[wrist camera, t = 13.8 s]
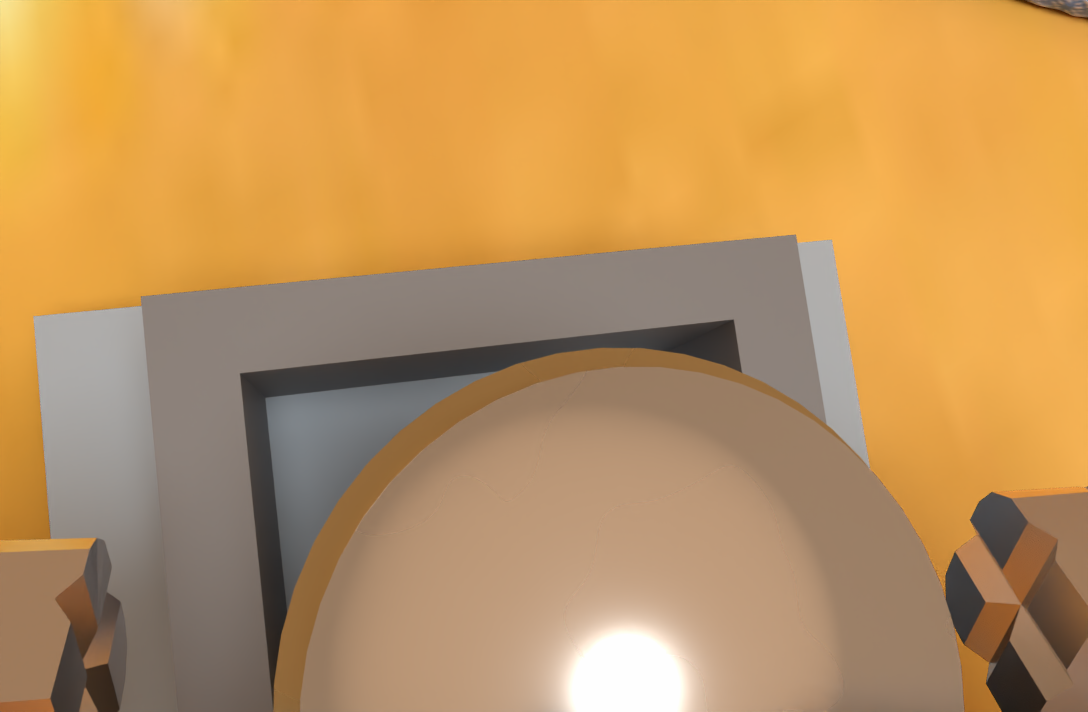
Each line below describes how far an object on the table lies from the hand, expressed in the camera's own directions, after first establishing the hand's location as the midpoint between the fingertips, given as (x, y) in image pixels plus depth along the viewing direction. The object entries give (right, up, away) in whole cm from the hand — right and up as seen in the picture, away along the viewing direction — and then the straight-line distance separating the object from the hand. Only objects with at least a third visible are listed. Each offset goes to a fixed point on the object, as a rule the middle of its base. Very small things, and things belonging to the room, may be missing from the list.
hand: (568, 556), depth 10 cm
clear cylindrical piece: (-1, -2, +5) cm, 6 cm away
